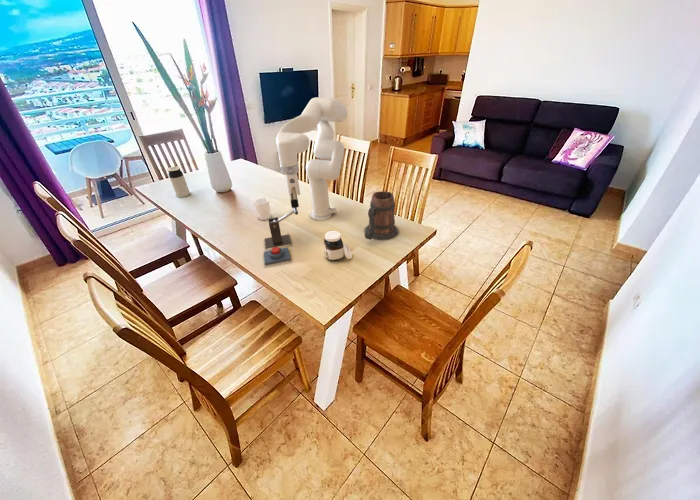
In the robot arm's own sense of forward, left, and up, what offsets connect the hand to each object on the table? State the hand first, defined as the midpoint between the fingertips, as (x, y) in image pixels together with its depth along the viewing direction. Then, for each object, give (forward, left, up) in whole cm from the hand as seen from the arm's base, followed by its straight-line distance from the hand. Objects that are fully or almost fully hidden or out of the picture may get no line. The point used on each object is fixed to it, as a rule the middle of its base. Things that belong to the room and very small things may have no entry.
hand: (295, 206), depth 137 cm
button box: (+8, +16, -18) cm, 25 cm away
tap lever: (+5, +1, -6) cm, 8 cm away
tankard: (-40, -2, -18) cm, 43 cm away
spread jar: (-20, +16, -18) cm, 31 cm away
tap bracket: (+10, +3, -18) cm, 21 cm away
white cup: (+22, -24, -18) cm, 38 cm away
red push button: (+8, +16, -14) cm, 23 cm away
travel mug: (+83, -59, -18) cm, 104 cm away
